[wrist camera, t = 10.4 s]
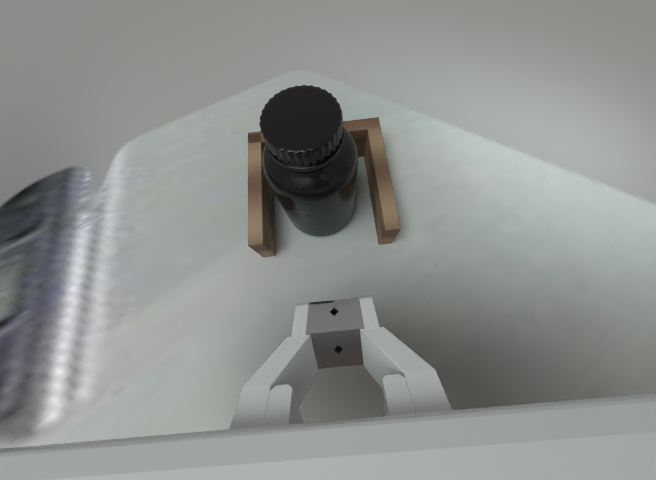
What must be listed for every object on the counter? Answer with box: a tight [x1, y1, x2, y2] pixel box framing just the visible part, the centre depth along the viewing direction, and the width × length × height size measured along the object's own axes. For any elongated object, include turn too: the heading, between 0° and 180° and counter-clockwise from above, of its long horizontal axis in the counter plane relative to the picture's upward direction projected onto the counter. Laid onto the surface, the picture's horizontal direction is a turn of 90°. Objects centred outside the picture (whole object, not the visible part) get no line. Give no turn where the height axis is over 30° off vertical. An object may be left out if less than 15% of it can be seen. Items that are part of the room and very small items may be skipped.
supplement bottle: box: [260, 85, 358, 236], centre depth 20 cm, size 7×7×12 cm
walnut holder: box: [248, 117, 401, 257], centre depth 24 cm, size 11×12×4 cm
